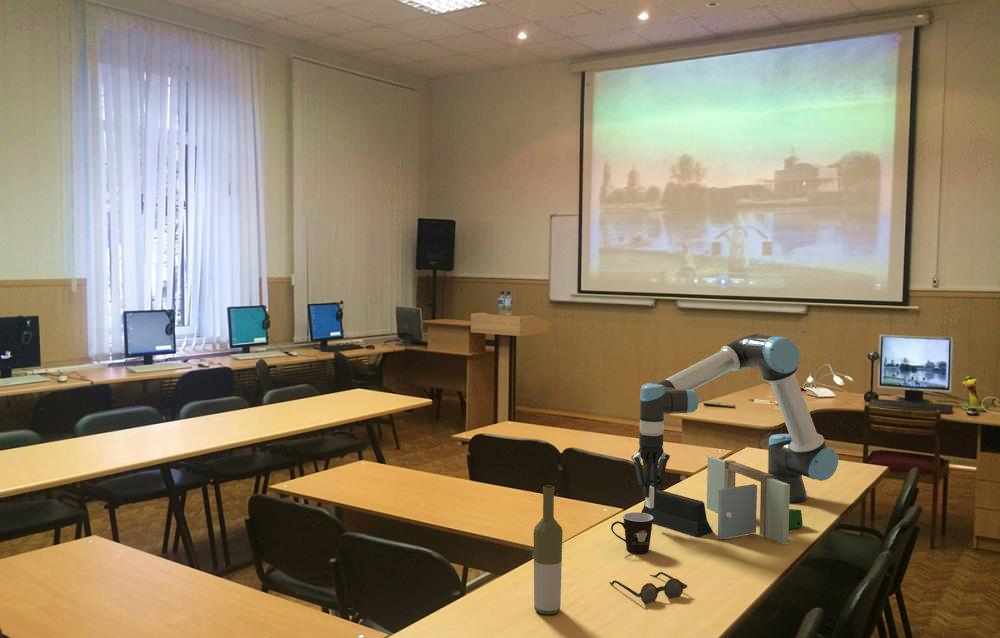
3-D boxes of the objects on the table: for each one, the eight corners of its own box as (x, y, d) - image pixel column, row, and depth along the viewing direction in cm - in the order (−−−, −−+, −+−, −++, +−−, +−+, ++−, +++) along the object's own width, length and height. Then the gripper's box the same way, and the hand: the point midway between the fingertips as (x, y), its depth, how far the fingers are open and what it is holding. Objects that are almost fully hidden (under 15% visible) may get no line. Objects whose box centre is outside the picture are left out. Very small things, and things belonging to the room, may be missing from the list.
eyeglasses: (638, 607, 184) (638, 587, 184) (605, 584, 198) (606, 565, 197) (687, 597, 190) (687, 577, 190) (652, 575, 203) (652, 557, 203)
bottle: (528, 614, 179) (529, 489, 177) (537, 602, 185) (539, 481, 184) (557, 619, 176) (558, 492, 175) (565, 607, 183) (566, 484, 181)
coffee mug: (654, 547, 224) (655, 514, 223) (650, 557, 216) (651, 522, 215) (615, 542, 228) (615, 509, 227) (610, 552, 219) (610, 518, 219)
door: (752, 531, 237) (753, 484, 236) (759, 534, 234) (760, 486, 233) (717, 537, 231) (718, 489, 230) (724, 540, 228) (725, 491, 227)
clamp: (788, 537, 246) (794, 510, 248) (799, 539, 240) (805, 511, 242) (755, 525, 244) (763, 497, 246) (766, 526, 238) (773, 498, 241)
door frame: (712, 507, 263) (713, 453, 262) (789, 543, 228) (790, 481, 227) (705, 508, 262) (706, 454, 261) (781, 544, 227) (783, 482, 226)
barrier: (713, 532, 238) (714, 501, 237) (697, 538, 232) (697, 506, 232) (653, 514, 256) (654, 485, 255) (637, 519, 250) (637, 490, 250)
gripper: (662, 430, 245) (660, 501, 246) (627, 432, 241) (625, 505, 242) (675, 434, 238) (673, 508, 239) (639, 436, 233) (637, 512, 235)
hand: (649, 506), depth 240 cm, fingers closed
